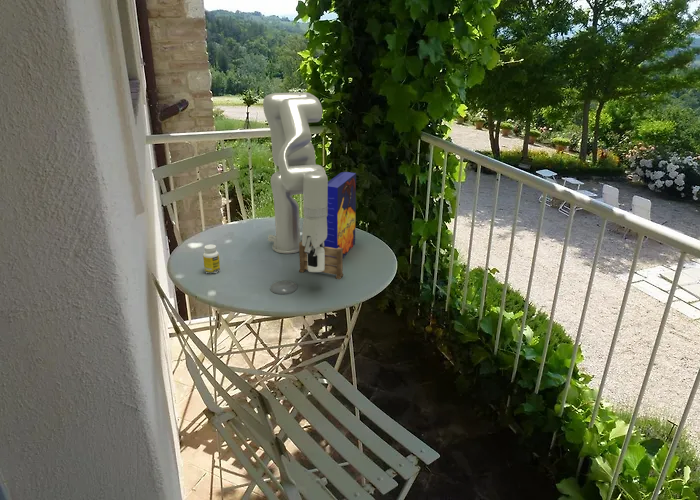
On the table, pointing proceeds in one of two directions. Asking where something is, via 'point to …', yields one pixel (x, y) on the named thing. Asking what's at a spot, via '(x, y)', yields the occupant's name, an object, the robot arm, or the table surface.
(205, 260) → the supplement bottle
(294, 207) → the robot arm
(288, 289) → the coaster
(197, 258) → the table surface
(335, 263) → the brown piece
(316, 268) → the eye dropper bottle
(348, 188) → the cereal box
